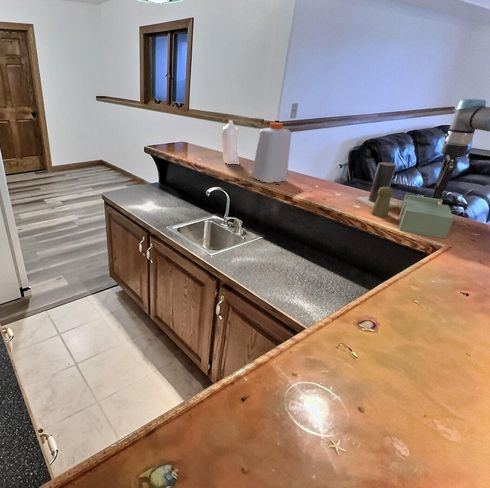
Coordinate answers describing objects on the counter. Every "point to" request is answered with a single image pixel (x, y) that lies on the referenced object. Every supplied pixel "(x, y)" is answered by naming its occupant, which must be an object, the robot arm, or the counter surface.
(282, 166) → the plastic bottle
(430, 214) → the green beveled box
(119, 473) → the counter surface
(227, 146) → the pale pink bottle
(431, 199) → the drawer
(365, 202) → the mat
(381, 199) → the olive pawn shaped piece
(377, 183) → the dark brown rectangular block
